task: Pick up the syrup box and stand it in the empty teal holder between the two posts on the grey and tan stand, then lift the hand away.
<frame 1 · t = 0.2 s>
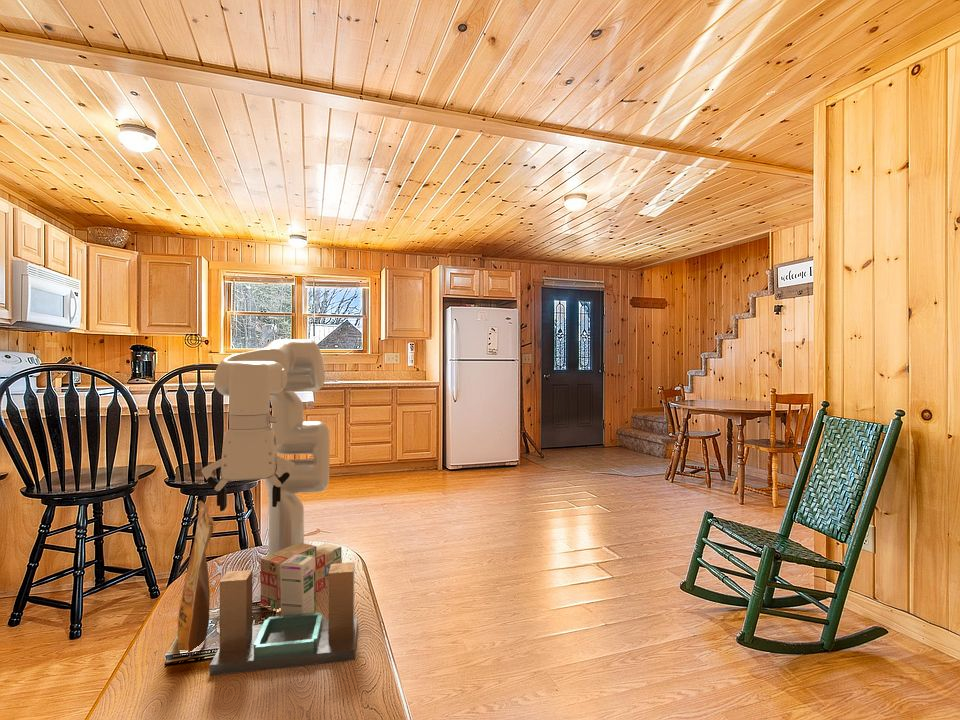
hand: (249, 507, 103), 31 cm above the table, tool pointing down, fingers open, 9 cm apart
pancake mix bag: (196, 638, 110), on the table
syrup box: (298, 622, 117), on the table
grey and tan stand: (290, 647, 107), on the table
stack of blocks: (303, 593, 132), on the table
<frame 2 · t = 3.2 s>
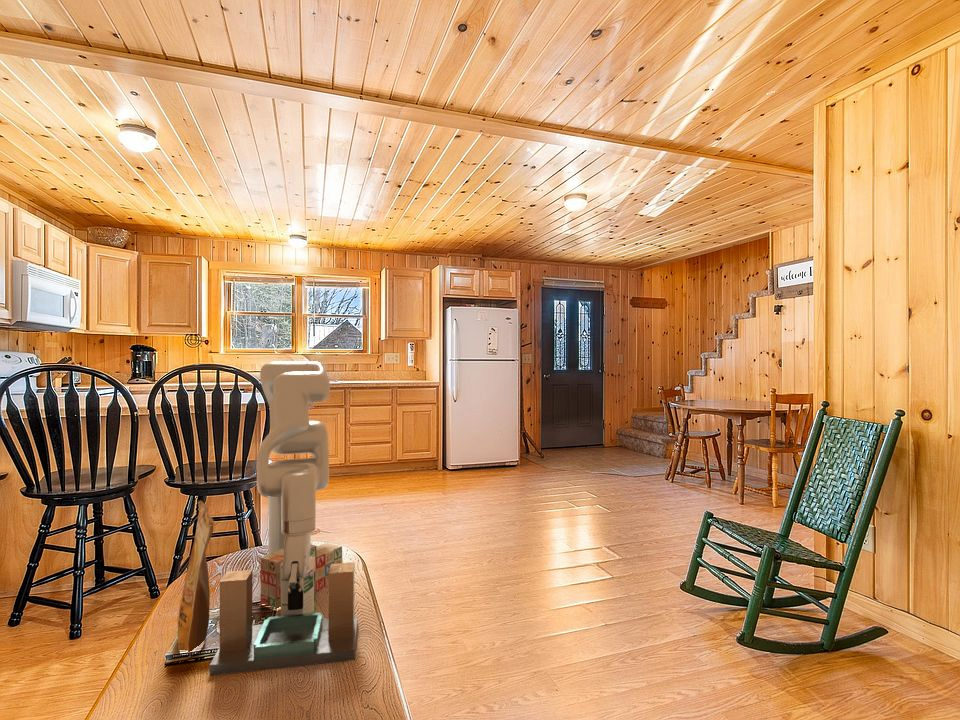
hand: (298, 600, 117), 5 cm above the table, tool pointing down, fingers closed on syrup box, 7 cm apart
syrup box: (298, 622, 117), on the table, touching gripper
everything else where it was.
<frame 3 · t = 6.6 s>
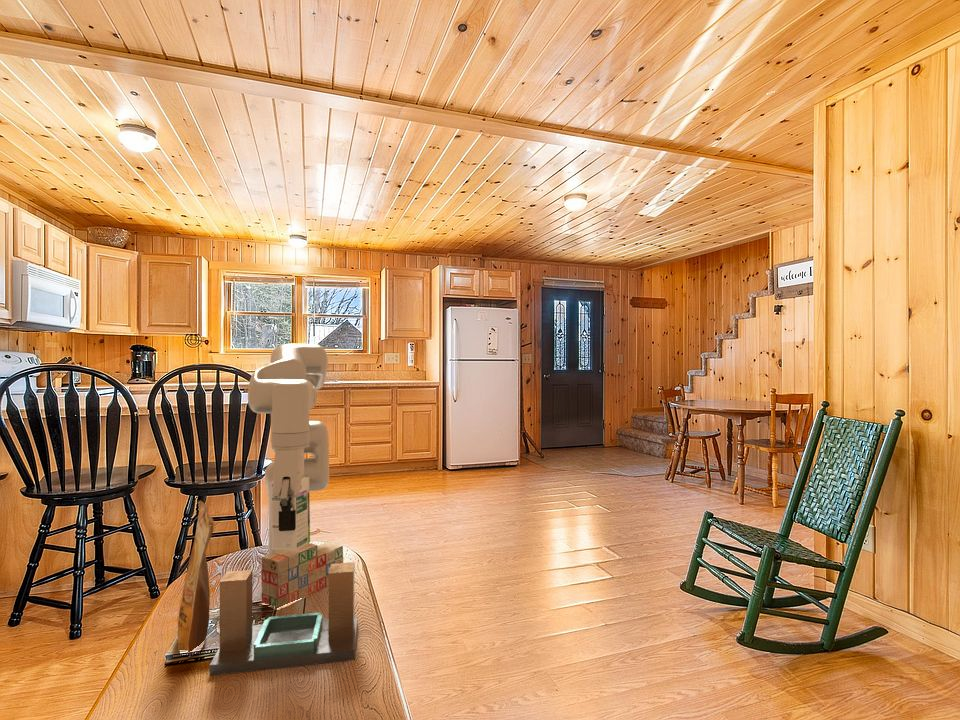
hand: (290, 523, 107), 26 cm above the table, tool pointing down, fingers closed on syrup box, 7 cm apart
syrup box: (290, 547, 107), point 21 cm above the table, touching gripper
everything else where it was.
when the fingers open (8 cm above the table, at t = 10.1 s): syrup box stays where it is, resting on grey and tan stand.
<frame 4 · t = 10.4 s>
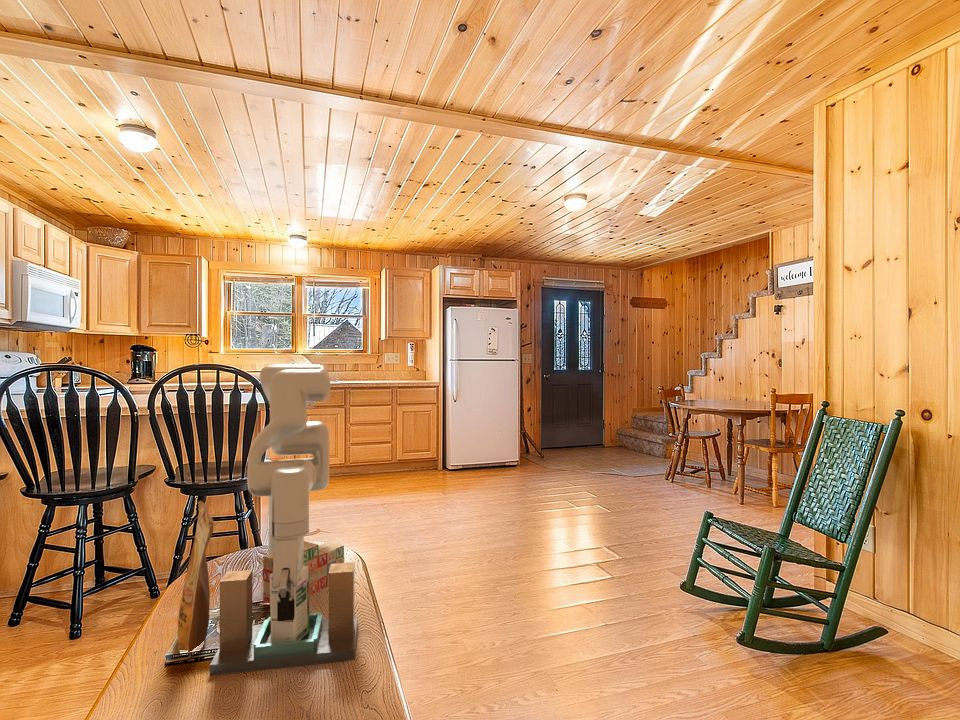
hand: (290, 608, 107), 8 cm above the table, tool pointing down, fingers open, 9 cm apart
syrup box: (290, 638, 107), point 2 cm above the table, touching grey and tan stand
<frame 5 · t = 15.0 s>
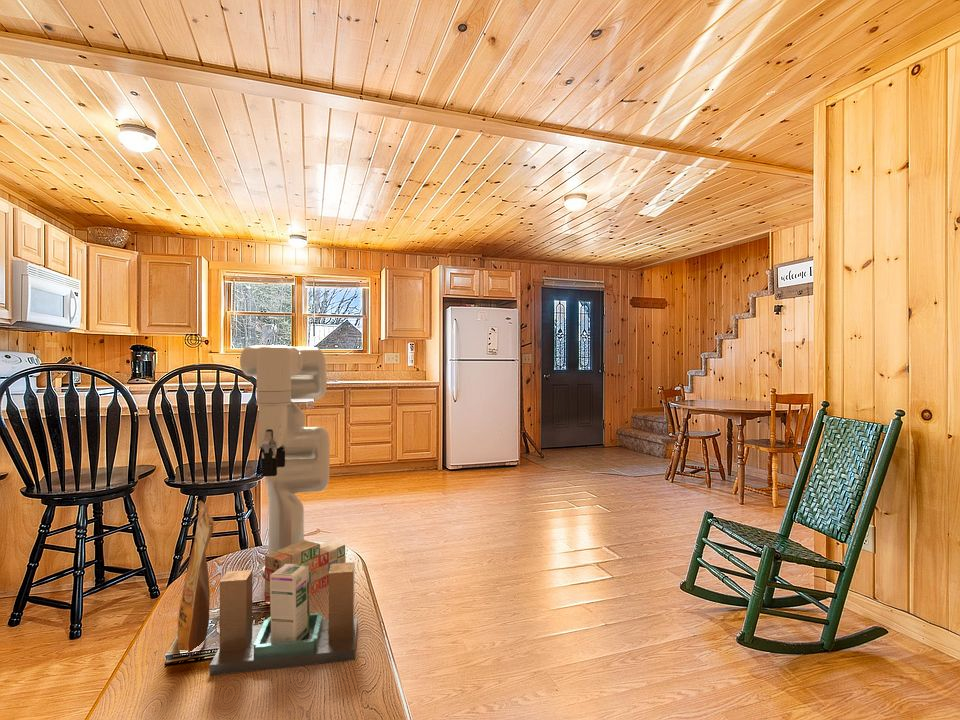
hand: (273, 471, 119), 34 cm above the table, tool pointing down, fingers open, 9 cm apart
at the end: syrup box 0.1 cm off-centre on the grey and tan stand, point 1.8 cm above the grey and tan stand's base; syrup box tilted 0°; the gripper is holding nothing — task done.
